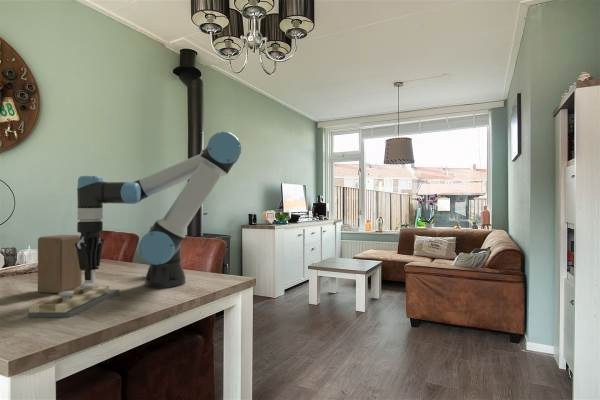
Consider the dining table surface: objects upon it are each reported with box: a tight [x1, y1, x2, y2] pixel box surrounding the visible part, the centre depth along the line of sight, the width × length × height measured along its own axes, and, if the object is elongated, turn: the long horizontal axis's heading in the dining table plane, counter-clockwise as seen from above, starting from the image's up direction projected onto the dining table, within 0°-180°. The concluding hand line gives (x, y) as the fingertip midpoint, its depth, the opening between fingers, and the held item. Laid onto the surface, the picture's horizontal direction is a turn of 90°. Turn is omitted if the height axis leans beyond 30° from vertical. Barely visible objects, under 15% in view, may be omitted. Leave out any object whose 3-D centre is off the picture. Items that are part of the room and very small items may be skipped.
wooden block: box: [37, 234, 83, 294], centre depth 128 cm, size 10×10×20 cm
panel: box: [28, 285, 110, 313], centre depth 108 cm, size 22×10×2 cm, turn 0°
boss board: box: [27, 283, 120, 318], centre depth 111 cm, size 26×12×5 cm, turn 0°
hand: (90, 288), depth 120 cm, fingers closed
